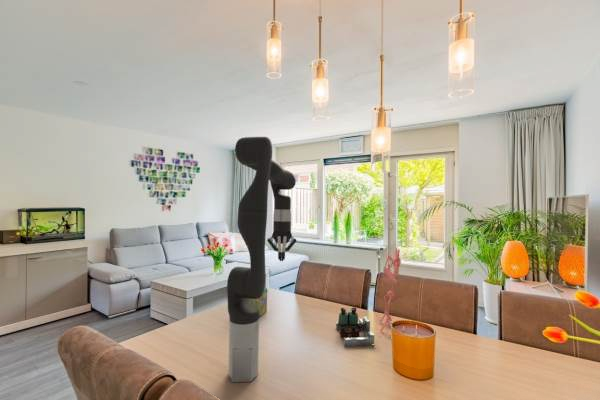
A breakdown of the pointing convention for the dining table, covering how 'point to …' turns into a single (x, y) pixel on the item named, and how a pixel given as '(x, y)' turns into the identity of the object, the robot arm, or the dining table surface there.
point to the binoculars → (348, 323)
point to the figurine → (387, 272)
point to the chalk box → (260, 302)
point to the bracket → (365, 330)
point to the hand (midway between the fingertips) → (281, 260)
